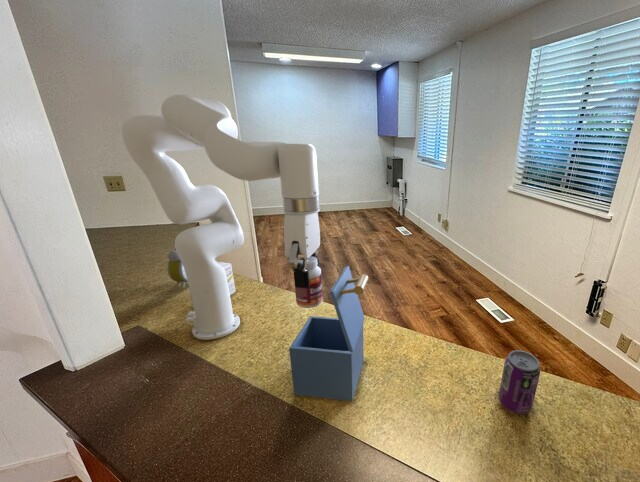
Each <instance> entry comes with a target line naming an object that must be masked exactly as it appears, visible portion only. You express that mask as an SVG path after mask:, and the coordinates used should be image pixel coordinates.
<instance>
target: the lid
mask: <svg viewBox="0 0 640 482" xmlns="http://www.w3.org/2000/svg"><path fill="white" fill-rule="evenodd" d="M368 282H369V276H368V274H366V273H362V274H361V275H359V277H356V278H353V275H352V271H351V269H350V266H349V265H346V266H344V269H343V270H342V272H341V273H340V275H339V276H338V278H337V279H336V281H335V283H334V284H333V286H332V287H331V289H330V291H329V296H330V298H331V300H332V303H333V306H334V309H335V312H336V316H337V318H338V319H339V322H340V325H341V328H342V331H343V334H344V337H345V340H346V343H347V346H348V349H349V352H353V351H354V348H355V345H356V342H357V339H358V336H359V334H360V331H361V328H362V325H363V326H364V323H365V319H366V318H365V314H364V312H363V308H362V305H361V302H360V298H359V296H360V295H362V294H363V293H364V291H365V289H366V287H367V284H368ZM355 283H356V284H355Z"/></svg>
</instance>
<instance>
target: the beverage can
mask: <svg viewBox="0 0 640 482" xmlns="http://www.w3.org/2000/svg"><path fill="white" fill-rule="evenodd" d="M540 376H541V367H540V361H539V359H538V358H537V357H536V356H535V355H533V354H532V353H530V352H528V351H525V350H521V349H515V350H511V351H510V352H509V353H508V355H507V357H506V358H505V360H504V364H503V369H502V374H501V381H500V384H499V391H498V401H499V402H500V404H501V405H502V406H503V408H505V409H506V410H508V411H510V412H512V413H513V414H518V415H526V414H528V413H530V412H531V411H532V408H533V406H534V402H535V398H536V394H537V393H536V392H537V389H538V384H539V380H540Z"/></svg>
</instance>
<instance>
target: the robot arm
mask: <svg viewBox="0 0 640 482" xmlns="http://www.w3.org/2000/svg"><path fill="white" fill-rule="evenodd" d="M160 109H161V110H160V111H161V115H155V114H154V115H153V114H142V115H141V114H140V115H135V116H131V117H129V118H127V119H125V120H124V122H123V123H122V127H121V134H122V140H123V143H124V146H125V149H126V151H127V153H128V155H129V156H130V158H131V159H132V161H133V162H134V163H135V164H136V165H137V166H138V168H139V169H140V170H141V171H142V173H143V174H144V176H145V177H146V179H147V180H148V183H149V184H150V186H151V188H152V190H153V192H154V194H155V196H156V198H157V200H158V202H159V204H160V206H161V208H162V210H163V211H164V213H165V215H166V217H167V218H168V220H169V221H170V222H171V223H173V224H176V225H187V224H188V225H189V224H192V223H198V222H201V221H205V220H206V221H207V220H210V222H209V223H205V224H201V225H197V226H193V227H190V228H186V229H184V230H182V231H181V232H179V233H177V236H176V237H175V239H174V248H175V250H176V251H177V253H178V255H179V257H180V259H181V262H182V264H183V267H184V270H185V273H186V277H187V281H188V282H187V285H188V290H189V294H190V298H191V303H192V307H193V311H189V312H188V313H187V317H186V318H185V322H187V323H193V326H192V329H191V333H192V336H193V337H194V338H196V339H198V340H202V341H210V340H216V339H221V338H223V337H227V336H228V335H231V334H232V333H233V332H235V331H236V330H237V329H238V328H239V327H240V325H241V319H240V317H239V316H238V315H237V314H235V313H234V311H233V305H232V300H231V299H232V298H231V295H230V293H229V287H228V282H227V276H226V272H225V269H224V268H223V267H222V266H221V265H220V264H219V263H217V262H218V261H217V259H216V258H218V257H220V256H223V255H225V254H228V253H231V252H233V251H236V250H238V249H240V248H241V247H242V246H243V244H244V242H245V236H244V235H245V234H244V231H243V228H242V226H241V224H240V221H239V219H238V217H237V215H236V213H235V211H234V208H233V206H232V204H231V202H230V200H229V198H228V196H227V195H226V193H225V192H224V191H223V189H221V188H219V187H218V186H216V185H214V184H200V185H194V184H193V183H192V182H191V180H190V178H189V176H188V174H187V171H186V170H185V169H184V168H183V166H181V164H179V162H177V161H176V160H175V159H174V158H172V157H170V156H169V155H167V154H166V152H195V151H201V150H203V149H204V151H205V153H206V155H207V157H208V159H209V161H210V162H211V163H212V164H213V166H215V167H216V168H217V169H219V170H221V171H222V172H224V173H226V174H228V175H229V176H232V177H233V178H235V179H238V180H240V181H246V182H254V181H261V180H268V179H277V178H279V179H280V187H281V188H280V189H281V196H282V208H283V214H284V218H283V219H284V220H283V239H284V241H283V243H284V256H285V258H286V259H288V265H289V266H290V268H291V269H292V272H293V281H294V288H295V287H299V288H309V286H310V284H309V271H307V259H308V258H309V257H310V256H313V257H316V258H317V263H318V264H317V266H318V267H319V268H320V259H319V258H320V254H319V248H320V246H321V227H320V220H319V212H320V211H321V204H320V188H319V187H320V186H319V171H318V170H319V169H318V156H317V149H316V148H315V146H314V145H313V144H310V143H286V142H282V141H243V140H240V139H238V137H239V130H238V126H237V123H236V122H235V120H234V119H232V114H231V111H230V110H229V109H228V107H227V106H226V105H225V104H224V103H223V102H222V101H219V100H217V99H214V98H210V97H202V96H201V97H200V96H196V95H188V94H174V95H171V96H168V97H167V98H166V99H164V101H163V102H162V104H161V108H160ZM300 256H301V257H300ZM298 260H303V266H302V264H301V263H298Z"/></svg>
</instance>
